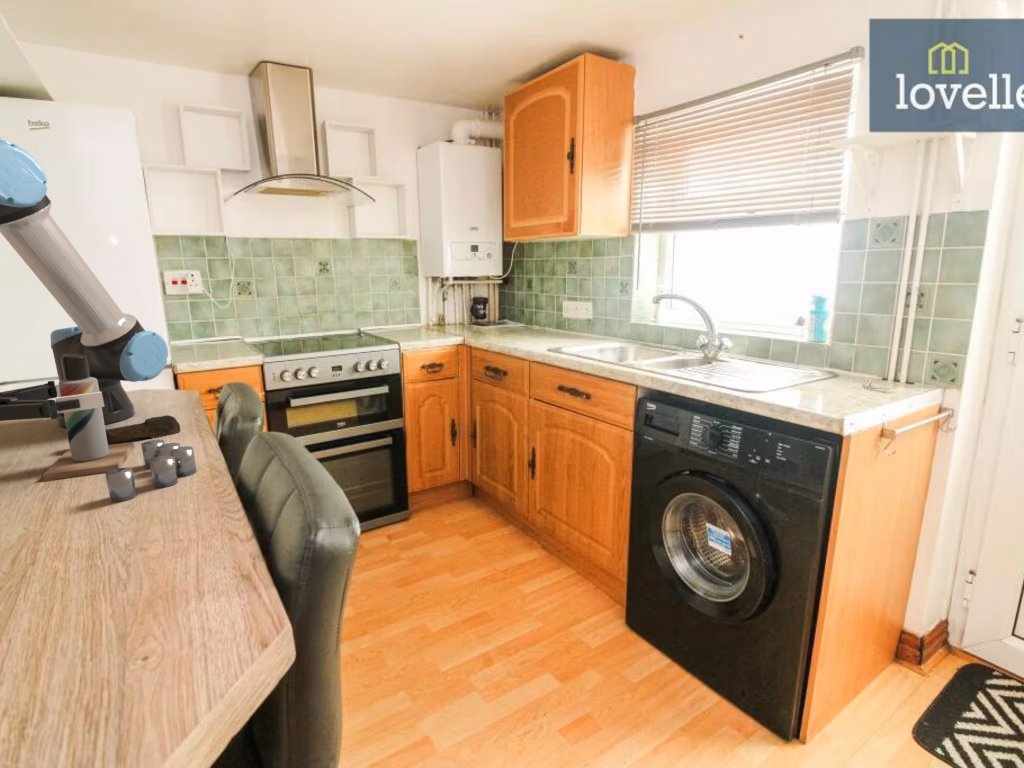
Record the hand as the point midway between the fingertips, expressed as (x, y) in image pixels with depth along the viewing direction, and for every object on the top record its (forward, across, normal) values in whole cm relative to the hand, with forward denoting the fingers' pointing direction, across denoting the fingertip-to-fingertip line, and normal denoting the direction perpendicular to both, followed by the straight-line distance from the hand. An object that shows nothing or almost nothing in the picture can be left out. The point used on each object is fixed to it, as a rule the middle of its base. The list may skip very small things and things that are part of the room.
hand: (101, 392), depth 103 cm
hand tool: (+3, -12, -14) cm, 18 cm away
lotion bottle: (-3, 0, -12) cm, 13 cm away
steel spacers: (+6, +17, -13) cm, 23 cm away
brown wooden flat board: (-3, 0, -14) cm, 14 cm away
